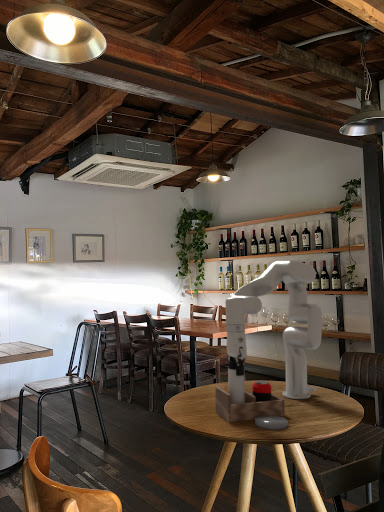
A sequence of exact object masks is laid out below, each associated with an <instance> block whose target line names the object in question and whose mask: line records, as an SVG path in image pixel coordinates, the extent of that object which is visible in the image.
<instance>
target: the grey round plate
mask: <svg viewBox="0 0 384 512" xmlns="http://www.w3.org/2000/svg"><path fill="white" fill-rule="evenodd" d="M254 425H255V426H256V427H257V428H259V429H263V430H268V431H280V430H281V431H282V430H284V429H286V428H288V426H289V421H288V419H286V418H285V417H284V416H274V415H263V416H258V417H256V418H255V419H254Z"/></svg>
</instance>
